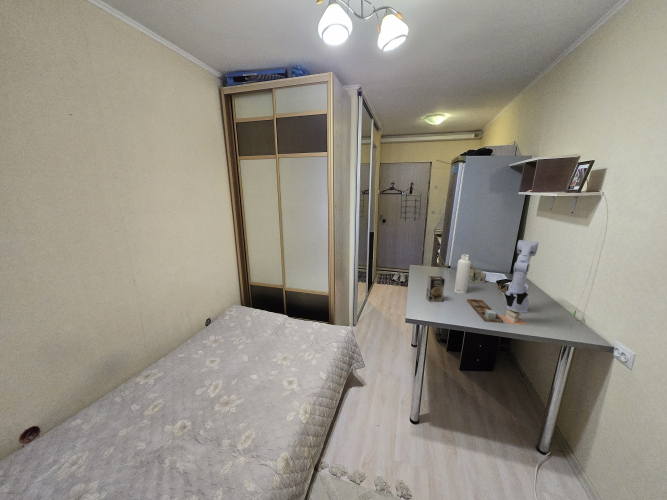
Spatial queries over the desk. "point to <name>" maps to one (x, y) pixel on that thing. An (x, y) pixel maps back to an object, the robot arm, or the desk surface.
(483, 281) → the ceramic cottage
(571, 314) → the desk surface
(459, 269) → the bottle
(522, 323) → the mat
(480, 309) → the organizer
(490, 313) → the blank block
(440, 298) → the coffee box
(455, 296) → the desk surface
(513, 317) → the letter cube
